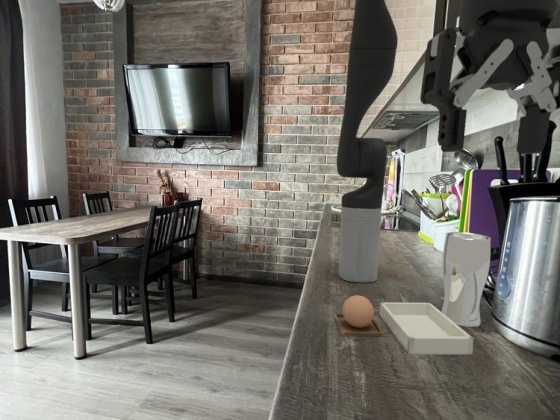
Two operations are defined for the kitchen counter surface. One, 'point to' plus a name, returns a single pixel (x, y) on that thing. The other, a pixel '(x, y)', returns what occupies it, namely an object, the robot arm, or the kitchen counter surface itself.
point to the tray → (425, 329)
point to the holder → (351, 331)
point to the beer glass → (464, 276)
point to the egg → (358, 311)
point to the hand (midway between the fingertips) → (490, 152)
